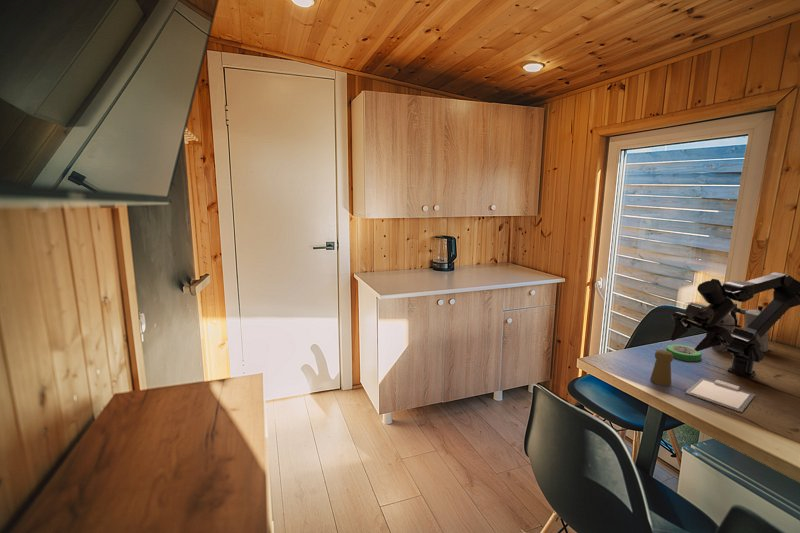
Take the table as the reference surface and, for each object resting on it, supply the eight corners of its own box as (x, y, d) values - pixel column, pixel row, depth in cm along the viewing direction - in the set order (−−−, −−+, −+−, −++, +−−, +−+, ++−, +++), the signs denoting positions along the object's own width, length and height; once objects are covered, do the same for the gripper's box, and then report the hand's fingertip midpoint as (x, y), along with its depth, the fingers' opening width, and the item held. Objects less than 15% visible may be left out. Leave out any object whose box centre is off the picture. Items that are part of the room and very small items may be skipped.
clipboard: (701, 378, 133) (702, 375, 133) (755, 395, 122) (755, 391, 122) (685, 393, 123) (685, 389, 123) (741, 413, 112) (742, 408, 112)
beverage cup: (703, 347, 160) (710, 301, 156) (715, 344, 162) (723, 299, 158) (722, 354, 153) (730, 305, 149) (735, 351, 155) (743, 304, 151)
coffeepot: (775, 348, 157) (783, 306, 154) (775, 355, 151) (783, 312, 147) (726, 339, 168) (733, 299, 164) (724, 345, 161) (731, 304, 158)
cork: (674, 386, 128) (679, 355, 126) (654, 384, 129) (658, 354, 127) (666, 377, 134) (670, 348, 132) (647, 376, 135) (650, 347, 133)
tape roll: (659, 352, 155) (660, 346, 155) (677, 348, 159) (678, 342, 159) (689, 363, 145) (690, 357, 145) (706, 358, 149) (707, 352, 149)
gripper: (679, 290, 137) (648, 321, 137) (732, 304, 119) (696, 340, 119) (694, 309, 140) (664, 340, 140) (748, 327, 122) (714, 362, 122)
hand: (683, 345), depth 130 cm, fingers open, 9 cm apart
